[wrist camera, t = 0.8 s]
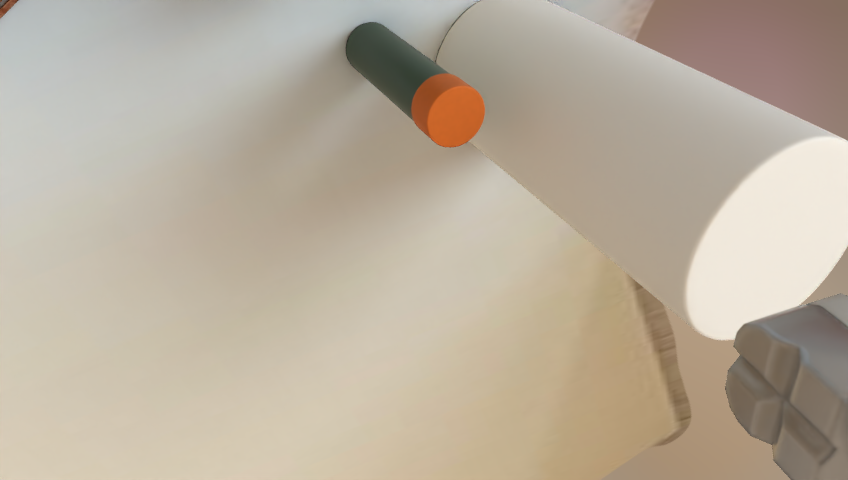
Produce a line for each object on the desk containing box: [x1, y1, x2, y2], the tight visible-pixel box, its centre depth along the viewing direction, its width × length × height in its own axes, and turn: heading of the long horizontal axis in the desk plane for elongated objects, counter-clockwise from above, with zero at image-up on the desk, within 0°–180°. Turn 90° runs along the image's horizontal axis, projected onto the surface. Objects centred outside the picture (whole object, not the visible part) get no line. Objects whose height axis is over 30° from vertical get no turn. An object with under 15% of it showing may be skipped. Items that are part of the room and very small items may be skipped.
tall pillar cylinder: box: [436, 0, 848, 340], centre depth 44 cm, size 11×11×25 cm
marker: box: [346, 22, 485, 147], centre depth 44 cm, size 3×3×12 cm
